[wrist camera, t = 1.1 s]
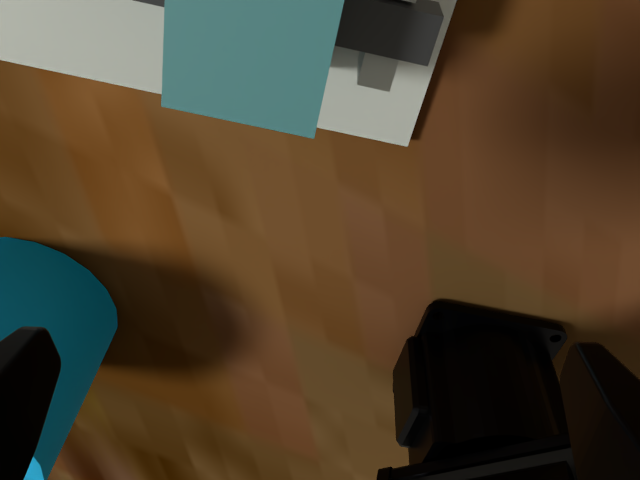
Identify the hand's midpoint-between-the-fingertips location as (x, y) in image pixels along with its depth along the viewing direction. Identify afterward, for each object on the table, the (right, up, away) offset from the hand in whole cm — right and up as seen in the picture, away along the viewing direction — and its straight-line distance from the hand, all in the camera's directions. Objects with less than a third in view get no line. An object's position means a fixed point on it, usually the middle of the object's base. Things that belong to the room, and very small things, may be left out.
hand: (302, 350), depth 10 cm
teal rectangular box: (-1, +10, +8) cm, 13 cm away
